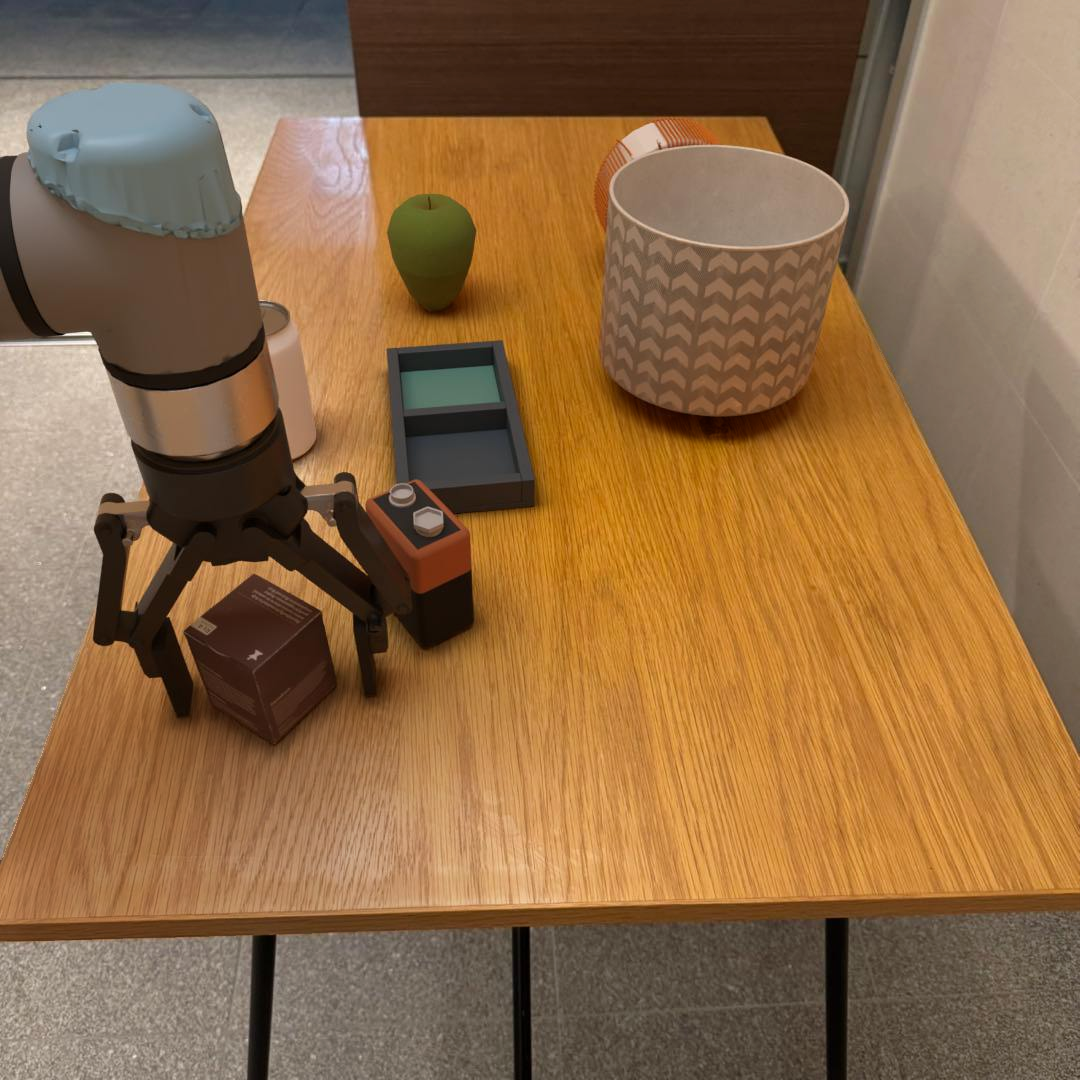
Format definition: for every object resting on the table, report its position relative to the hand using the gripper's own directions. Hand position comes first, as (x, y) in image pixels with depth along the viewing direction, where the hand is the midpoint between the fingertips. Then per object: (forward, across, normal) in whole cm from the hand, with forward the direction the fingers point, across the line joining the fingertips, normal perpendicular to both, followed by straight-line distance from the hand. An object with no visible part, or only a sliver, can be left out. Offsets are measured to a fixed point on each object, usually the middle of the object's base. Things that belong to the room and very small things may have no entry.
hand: (279, 690), depth 65 cm
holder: (0, -14, -26) cm, 30 cm away
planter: (0, -37, -31) cm, 48 cm away
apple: (0, -14, -48) cm, 50 cm away
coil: (0, -39, -53) cm, 66 cm away
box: (0, 0, 0) cm, 1 cm away
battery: (0, -10, -6) cm, 12 cm away
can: (0, +1, -27) cm, 27 cm away
